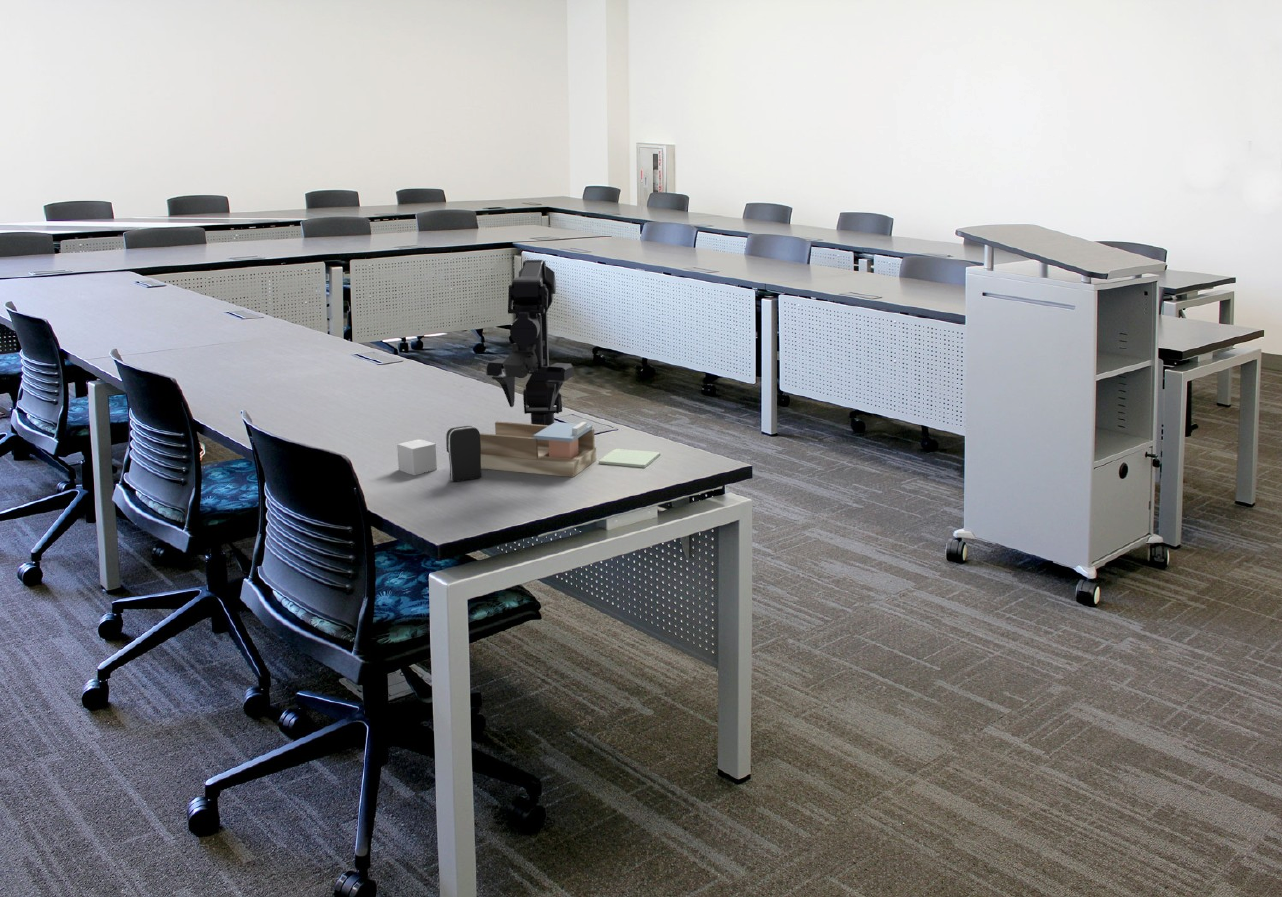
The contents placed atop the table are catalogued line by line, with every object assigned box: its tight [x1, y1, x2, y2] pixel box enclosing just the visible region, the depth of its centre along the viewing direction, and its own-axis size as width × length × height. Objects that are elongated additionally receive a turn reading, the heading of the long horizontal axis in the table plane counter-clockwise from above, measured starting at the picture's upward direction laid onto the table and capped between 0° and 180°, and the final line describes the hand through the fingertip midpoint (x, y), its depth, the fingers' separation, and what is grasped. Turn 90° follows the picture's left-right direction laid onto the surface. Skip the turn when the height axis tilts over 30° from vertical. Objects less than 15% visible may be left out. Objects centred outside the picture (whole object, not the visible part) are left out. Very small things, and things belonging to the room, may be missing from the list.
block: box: [549, 438, 579, 459], centre depth 260 cm, size 5×5×7 cm
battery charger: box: [445, 425, 482, 482], centre depth 251 cm, size 7×4×11 cm, turn 120°
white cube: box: [396, 438, 438, 476], centre depth 258 cm, size 6×6×6 cm
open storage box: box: [480, 420, 597, 478], centre depth 262 cm, size 14×24×8 cm, turn 71°
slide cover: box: [533, 421, 593, 442], centre depth 259 cm, size 12×9×2 cm
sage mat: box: [598, 448, 661, 469], centre depth 266 cm, size 11×11×1 cm
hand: (530, 408), depth 256 cm, fingers open, 9 cm apart
